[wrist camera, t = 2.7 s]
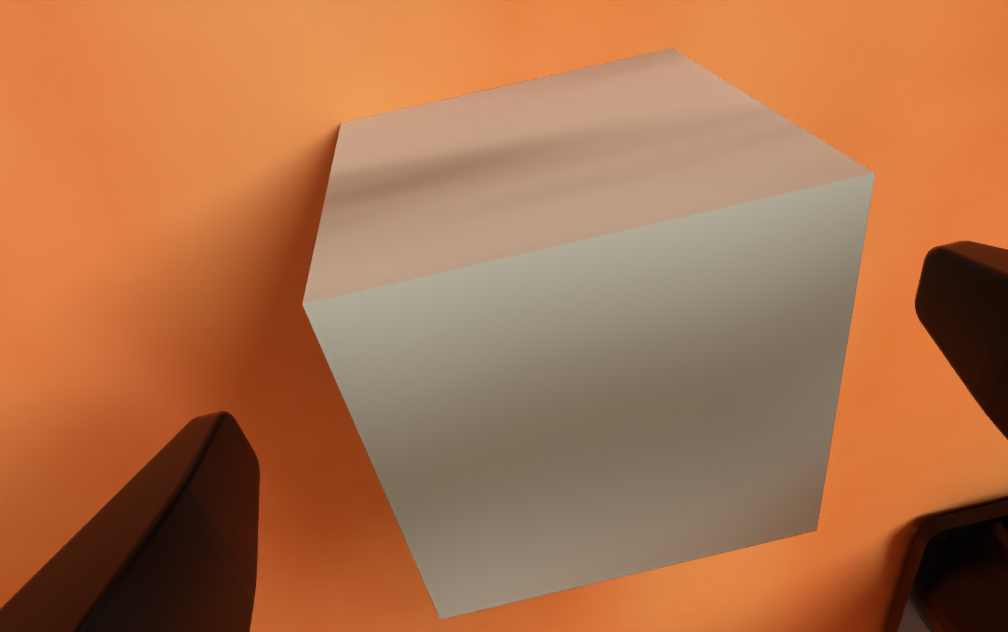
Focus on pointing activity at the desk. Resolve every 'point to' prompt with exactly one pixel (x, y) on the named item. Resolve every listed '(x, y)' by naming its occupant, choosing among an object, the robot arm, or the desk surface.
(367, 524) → the desk surface
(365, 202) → the cube block
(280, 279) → the desk surface
